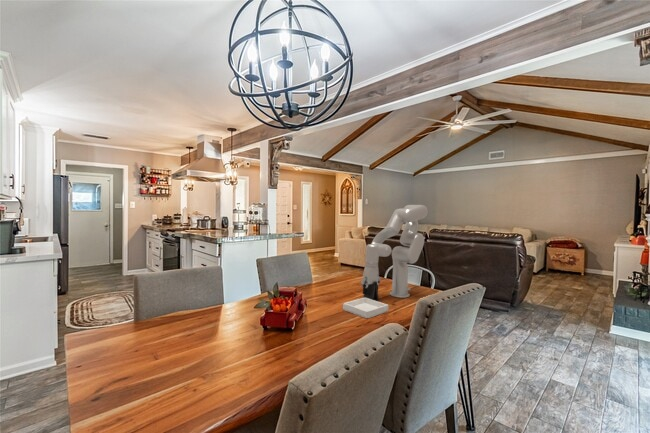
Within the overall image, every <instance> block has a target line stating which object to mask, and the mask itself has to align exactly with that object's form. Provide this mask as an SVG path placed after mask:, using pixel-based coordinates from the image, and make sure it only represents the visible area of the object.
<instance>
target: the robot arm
mask: <svg viewBox="0 0 650 433" xmlns="http://www.w3.org/2000/svg"><path fill="white" fill-rule="evenodd" d="M428 211H429V210H428V208H427V206H426V205H423V204H407V205H405V206H404V207H403V208H396V209H395V210H394V211H393V213H392V215H391V217H390V219H389V221H388V222H387V225H386V226H385V228H383V229H382V230H380V231H379V232H378V233H377V234H376V235H375V236H374V238H373V240H372V241H371V243H370V244H369V243H368V244H366V250H365V251H366V252H365V253H366V254H365V266H364V268H363V273H362V279H361V280H360V284H361V287H362V294H363V295H364V294H365V295H367V294H368V288H367V287H368V285H370V284H373V282H377V290H378V291H379V285H380V283H381V282H380V281H381V279H382V278H381V277H380V276H379V275H380V272H379V257H384V258H385V257H389V256H390V255H391V258H392V285H391V286H392V287H391V291H389V295H390V296H392V297H395V298H402V299H403V298H405V299H406V298H409V297H410V293H409V291H411V287H408V280H409V277H408V276H409V266H408V264H416V262H418V260H419V258H420V255H421V253H422V249H423V248H424V244H425V237H424V235H423V234H422V233H420V232H418V230H419V222H418V221H420V220H423V219H425V218H426V217H427V215H428ZM404 223H405V226H404V228H403V231H402V233H401V235H400V237H399V243H400V244H401V245H402V246H401V245H399V246H398V245H397V246H395V247H393V249H392V247H391V246H390V245H388V244H385V243H384V242H385V241H386V240H388V239H389V238H392V237H395V236H397V235H398V234H399V232H401V229H402V227H403V225H404ZM366 282H367V283H366ZM366 284H367V285H366Z"/></svg>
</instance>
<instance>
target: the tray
mask: <svg viewBox="0 0 650 433" xmlns="http://www.w3.org/2000/svg"><path fill="white" fill-rule="evenodd" d="M363 297H364V296H363ZM363 297H361V298H357V299H353V300H351V301H347V302H344V303H342V311H345V312H349V313H351V314H352V315H353V314H354V315H356V316H358V317H361V318H363V319H366V320H368V319H370V318H374V317H376V316H380V315H382V314H384V313H388V312H389V308H390V307H389V304H387V303H383V302H381V301H379V300H378V301H375V300H372V299H368V298H365V297H364V298H363Z"/></svg>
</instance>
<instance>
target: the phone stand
mask: <svg viewBox="0 0 650 433" xmlns="http://www.w3.org/2000/svg"><path fill="white" fill-rule="evenodd" d="M366 283H367V282H366ZM366 285H367V284H366ZM367 288H368V294H367V295H365V294H363V297H362V298H364V297H365V298H368V299H372V300H375V301H377V300H378V301H380V298H379V289H378V290H377V282H373V284H370V285H368V287H367Z"/></svg>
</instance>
